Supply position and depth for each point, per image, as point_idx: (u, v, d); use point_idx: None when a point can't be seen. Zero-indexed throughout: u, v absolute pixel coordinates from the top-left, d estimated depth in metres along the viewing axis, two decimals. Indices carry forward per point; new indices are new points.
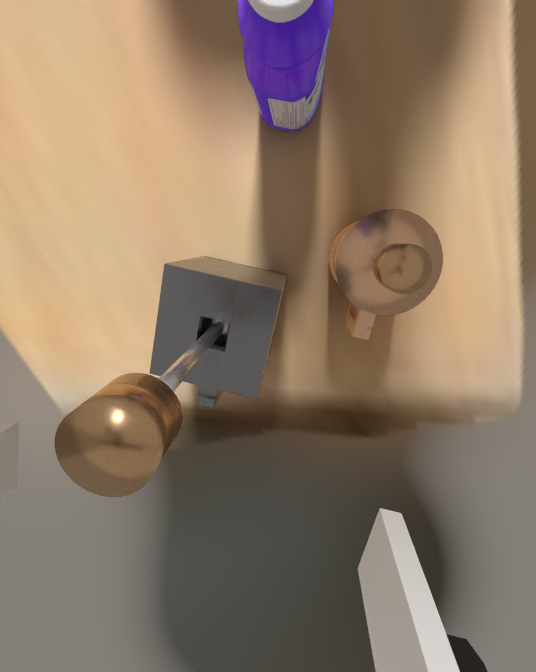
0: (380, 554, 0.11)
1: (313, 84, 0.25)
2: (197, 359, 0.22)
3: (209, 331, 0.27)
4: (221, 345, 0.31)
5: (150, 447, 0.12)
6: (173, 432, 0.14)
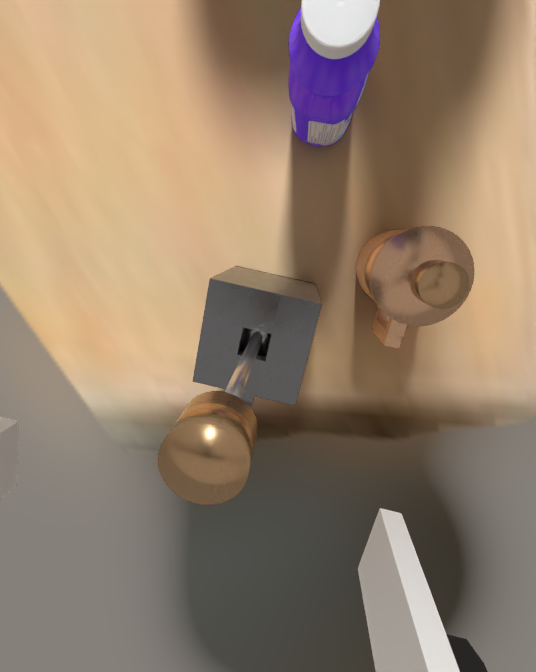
0: (380, 554, 0.11)
1: (354, 108, 0.26)
2: (250, 371, 0.24)
3: (252, 342, 0.28)
4: (259, 354, 0.32)
5: (245, 461, 0.14)
6: (254, 445, 0.16)
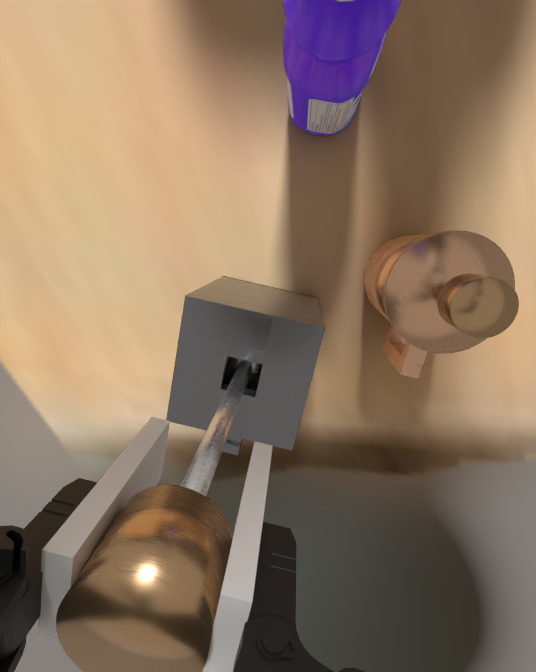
0: None
1: (366, 82, 0.21)
2: (231, 422, 0.18)
3: (238, 376, 0.23)
4: (248, 386, 0.26)
5: (202, 634, 0.08)
6: None
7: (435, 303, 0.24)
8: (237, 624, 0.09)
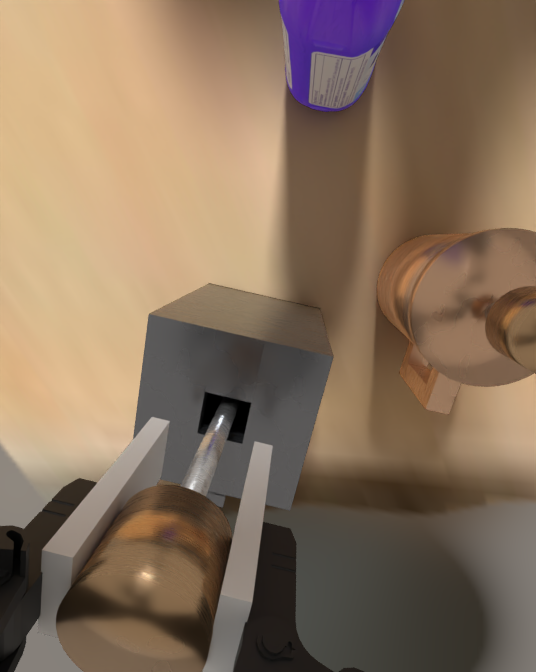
0: None
1: (390, 25, 0.15)
2: (231, 422, 0.18)
3: None
4: None
5: (202, 635, 0.08)
6: None
7: (476, 323, 0.18)
8: (237, 624, 0.09)
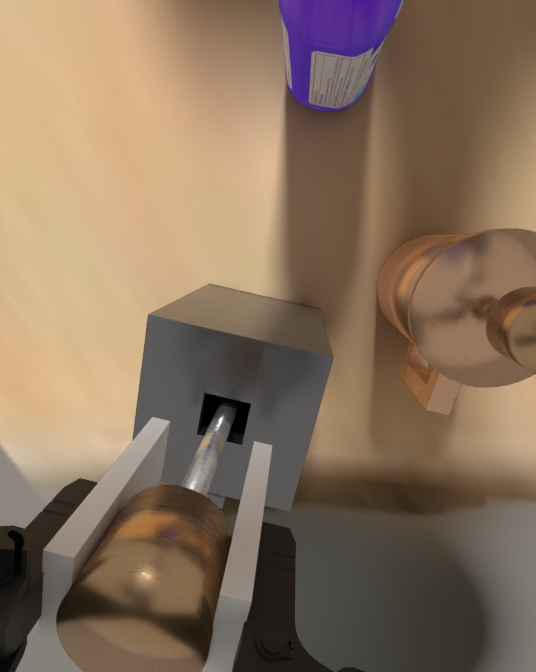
0: None
1: (390, 24, 0.15)
2: (231, 422, 0.18)
3: None
4: None
5: (202, 634, 0.08)
6: None
7: (477, 323, 0.18)
8: (236, 623, 0.09)
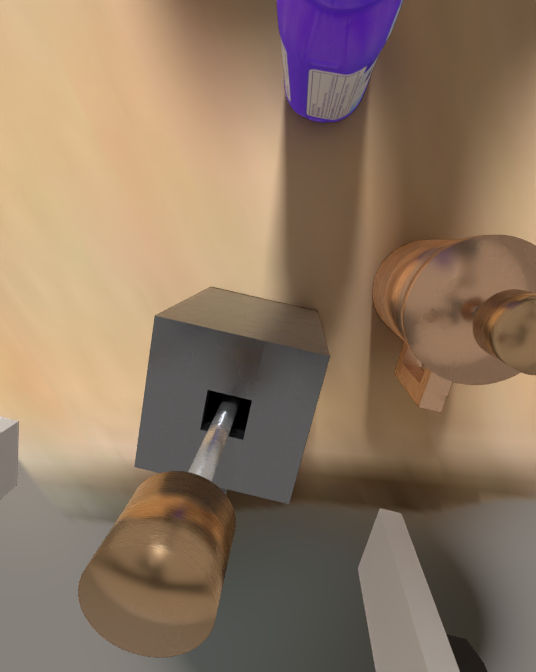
0: (380, 554, 0.11)
1: (382, 45, 0.16)
2: (233, 418, 0.19)
3: None
4: None
5: (210, 600, 0.09)
6: (229, 554, 0.11)
7: (465, 324, 0.19)
8: None
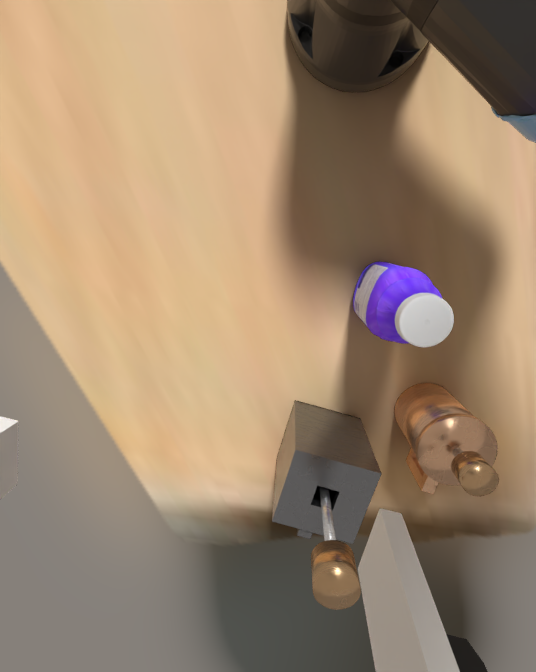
0: (380, 554, 0.11)
1: None
2: None
3: None
4: None
5: (359, 590, 0.27)
6: None
7: (448, 456, 0.38)
8: None
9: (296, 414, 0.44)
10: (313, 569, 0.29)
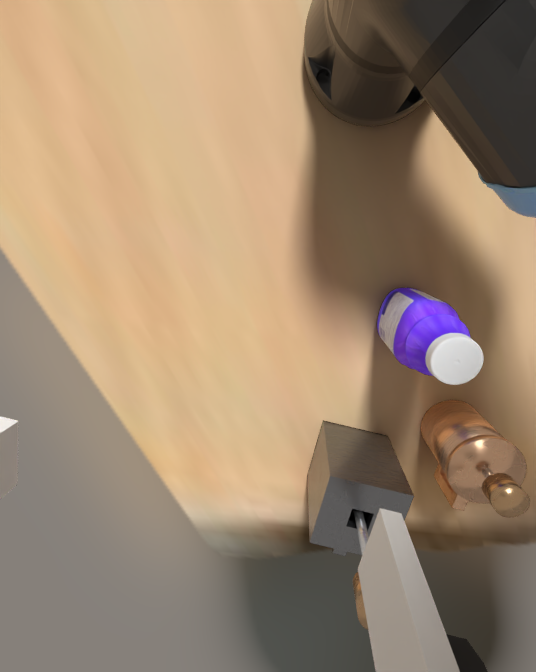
0: (380, 554, 0.11)
1: None
2: None
3: None
4: None
5: None
6: None
7: (478, 476, 0.39)
8: None
9: (326, 436, 0.46)
10: (357, 595, 0.30)
